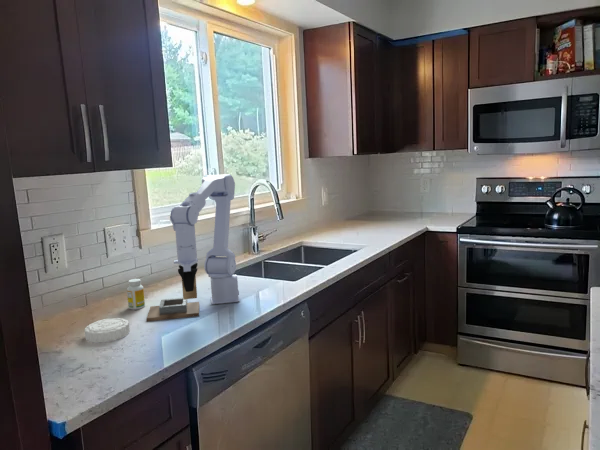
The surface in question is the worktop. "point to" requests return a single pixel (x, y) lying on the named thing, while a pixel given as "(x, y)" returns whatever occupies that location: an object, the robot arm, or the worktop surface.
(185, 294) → the peg
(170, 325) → the worktop surface
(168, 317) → the socket board
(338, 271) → the worktop surface
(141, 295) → the supplement bottle
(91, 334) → the mooncake
